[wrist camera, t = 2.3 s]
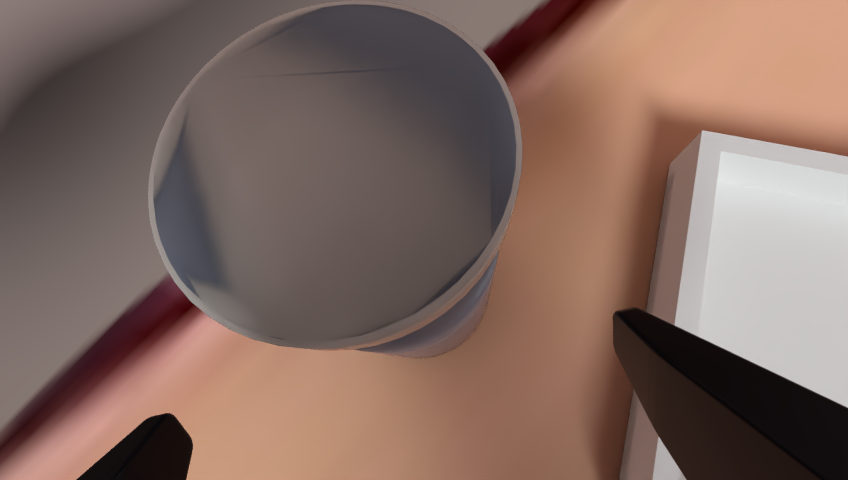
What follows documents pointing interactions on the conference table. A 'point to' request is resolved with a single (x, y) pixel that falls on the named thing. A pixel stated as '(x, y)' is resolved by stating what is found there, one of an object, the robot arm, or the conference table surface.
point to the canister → (340, 181)
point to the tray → (751, 269)
